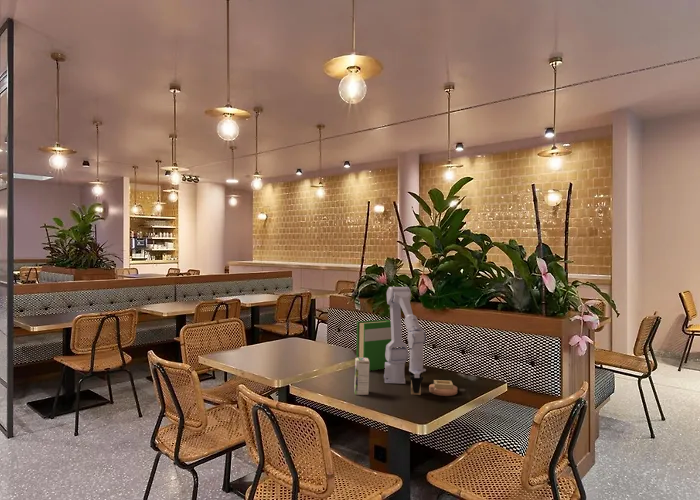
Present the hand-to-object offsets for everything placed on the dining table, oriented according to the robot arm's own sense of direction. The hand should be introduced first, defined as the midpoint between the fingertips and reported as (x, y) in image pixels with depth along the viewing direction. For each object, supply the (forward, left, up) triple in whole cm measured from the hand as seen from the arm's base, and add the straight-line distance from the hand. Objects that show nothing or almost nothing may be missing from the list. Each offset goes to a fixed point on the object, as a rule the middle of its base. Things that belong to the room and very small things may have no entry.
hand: (415, 390), depth 202 cm
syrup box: (-23, -2, -2) cm, 23 cm away
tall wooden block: (0, 0, -1) cm, 1 cm away
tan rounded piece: (+12, +5, -1) cm, 13 cm away
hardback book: (-19, +42, -2) cm, 46 cm away
